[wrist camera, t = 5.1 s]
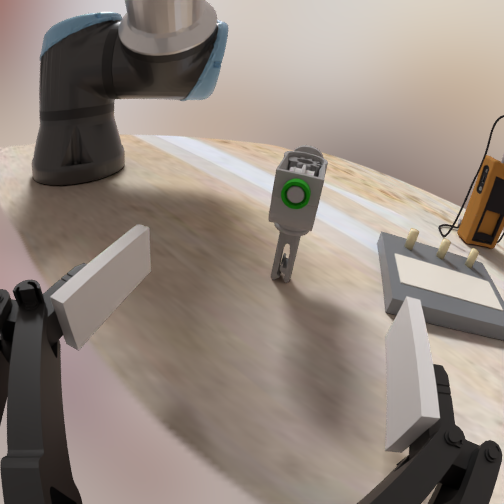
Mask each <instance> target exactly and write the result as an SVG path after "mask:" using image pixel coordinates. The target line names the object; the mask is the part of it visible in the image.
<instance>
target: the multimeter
mask: <svg viewBox="0 0 504 504" xmlns="http://www.w3.org/2000/svg"><path fill="white" fill-rule="evenodd" d="M503 117H504V115H503V116H500V117H499V118H498V119H497V120H496V121H495V123H494V125H493V128H492V130H491V133H490V137H489V141H488V145H487V148H486V151H485V155H484V157H483V160H482V163H481V165H480V167H479V170H478V172H477V174H476V176H475V178H474V180H473V182H472V184H471V186H470V189H469V191H468V194H467V196H466V198H465V200H464V203H463V205H462V207H461V209H460V211H459V214H458V216H457V218H456V220H455V221H454V223H453V225H448V224H443V225H440V226H439V231H440V233H441V235H442V236H443V237H446V236H447V235H448V234H449V233H450V231H451V230H452V228H459V230H458V235H459V236H460V237H461V238H462V239H463V240H464V241H465V242H466V243H467V244H475V245H480V246H485V247H488V248H490V249H492V248H494V247H495V245H496V243H499V242H500V240H501V239H502V237H503V235H504V233H503V234H502V236H501V238H500V239H499V236H500V234H501V232H502V230H503V227H504V155H503V158H502V161H501V162H500V161H498V160H496V159H494V158H492V157H491V156H487V155H486V154H487V150H488V147H489V144H490V140H491V136H492V132H493V129H494V127H495V125H496V123H497V122H498V121H499V119H501V118H503ZM478 173H479V175H478ZM477 175H478V178H477V181H476V184H475V186H474V189H473V192H472V195H471V198H470V201H469V204H468V206H467V209H466V212H465V214H464V217H463V220H461V218H460V219H459V222H458V227H455V226H454V225H455V223H456V221H457V219H458V217H459V215H460V213H461V211H462V209H463V207H464V204H465V202H466V200H467V197H468V195H469V193H470V190H471V188H472V186H473V183H474V181H475V179H476V177H477ZM461 221H462V222H461ZM460 224H461V225H460ZM441 226H450V227H451V228H450V230H449V231H448V233H447V234H446V235H443V234H442V232H441V229H440V227H441ZM459 226H460V227H459ZM498 239H499V241H498Z"/></svg>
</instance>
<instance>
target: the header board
mask: <svg viewBox="0 0 504 504" xmlns="http://www.w3.org/2000/svg"><path fill="white" fill-rule="evenodd" d="M418 234H419V231H418V230H416V229H414V228H411V229H410V232H409V235H408V237H407V239H405V238H402V237H398V236H395V235H391V234H388V233H385V232H381V234H380V237H379V240H378V242H377V245H378V252H379V259H380V266H381V274H382V282H383V291H384V301H385V311H386V313H390V314H394V315H397V314H398V312H399V310H400V308H401V306H402V304H403V302H404V300H405V298H406V296H408V297H411V298H415V299H419V300H420V301H421V306H422V310H423V314H424V319H425V322H426V323H431V324H435V325H439V326H443V327H447V328H452V329H456V330H460V331H464V332H469V333H473V334H478V335H482V336H486V337H491V338H495V339H500V340H504V301H503V300H502V298H501V296H500V294H499V292H498V290H497V288H496V286H495V285H494V283H493V281H492V279H491V277H490V276H489V274H488V272H487V270H486V269H485V267H484V265H483V264H482V263H480V262H477V261H475V260H476V258H477V256H478V254H479V251H478V250H476V249H474V248H472V249H471V252H470V254H469V256H468V258H465V257H462V256H459V255H456V254H453V253H450V252H447V251H448V248H449V246H450V244H451V242H450V241H449V240H448V239H445V238H443V240H442V243H441V245H440V247H439V249H438V248H434V247H431V246H428V245H425V244H421V243H418V242H416V239H417V237H418Z"/></svg>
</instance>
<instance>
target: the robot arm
mask: <svg viewBox="0 0 504 504" xmlns="http://www.w3.org/2000/svg"><path fill="white" fill-rule="evenodd" d="M125 3H126V8H127V13H126V14H125V16H124V17H123V18H122V17H121V15H120V14H118V13H114V12H101V13H95V14H93V13H90V14H84V15H80V16H76V17H73V18H70V19H66V20H64V21H62V22H59V23H57V24H56V25H54V26H52V27H51V28H50V29H49V30H48V32H47V33H46V34H45V36H44V40H43V46H42V52H41V55H40V61H41V63H40V64H41V65H40V128H39V132H38V136H37V141H36V146H35V151H34V158H33V160H32V172H33V178H34V180H35V181H37V182H39V183H42V184H48V185H68V184H77V183H83V182H88V181H93V180H97V179H100V178H103V177H106V176H109V175H111V174H114V173H116V172H117V171H119V170H120V169H122V168H123V166H124V164H125V157H124V148H123V146H122V145H121V140H120V136H119V133H118V129H117V126H116V122H115V119H114V100H115V99H169V100H180V101H186V100H203V99H206V98H208V97H209V96H210V95H211V94H212V93H213V91H214V88H215V86H216V82H217V80H218V76H219V72H220V67H221V63H222V59H223V56H224V52H225V47H226V42H227V36H228V25H227V24H226V23H225V22H221V21H220V20H217V15H216V12H215V10H214V8H213V7H212V6H211V5H210V4H209V3H208V2H206V1H205V0H125ZM150 272H151V255H150V228H149V227H146V226H143V225H139V224H137V225H136V226H134V227H133V228H132V229H130V230H129V231H128V232H127V233H125V234H124V235H123V236H121V237H120V238H119V239H118V240H116V241H115V242H114V243H113V244H111V245H110V246H109V247H108V248H106V249H105V250H104V251H103V252H102V253H100V254H99V255H98V256H97V257H95V258H94V259H93V260H92V261H91V262H89V263H88V264H85V263H83V264H81V265H78V266H76V267H74V268H73V269H72V270H70V271H69V272H68V273H67V275H65V276H63V277H62V278H61V280H59V281H58V282H56V283H55V284H54V285H53V286H52V287H51V288H49V289H48V290H47V291H46V292H45V293H44V294H42V291H41V288H40V284H39V283H38V282H37V281H35V280H25V281H22V282H21V283H19V284H18V285H17V286H15V288H14V290H13V293H14V296H15V298H16V300H12V299H11V298H10V295H9V293H8V292H7V291H6V290H3V289H0V424H1V420H2V415H3V411H4V408H5V404H6V400H7V397H8V400H7V445H8V453H7V456H5V457H3V458H2V460H1V479H2V488H3V497H4V504H82V500H81V496H80V493H79V491H78V489H77V487H76V485H75V483H74V480H73V477H72V472H71V467H70V461H69V454H68V448H67V440H66V433H65V424H64V414H63V404H62V388H61V360H60V341H59V339H60V338H61V337H62V336H64V338H65V341H66V343H67V344H68V345H70V346H71V347H73V348H75V349H77V350H80V349H81V348H82V346H83V345H84V344H85V343H86V342H87V341H88V340H89V338H90V337H91V336H92V335H93V334H94V333H95V332H96V330H97V329H98V328H99V327H100V326H101V325H102V324H103V323H104V321H105V320H106V319H107V318H108V317H109V316H110V315H111V314H112V313H113V311H114V310H115V309H116V308H117V307H118V306H119V305H120V304H121V303H122V302H123V301H124V299H125V298H126V297H127V296H128V295H129V294H130V293H131V292H132V291H133V290H134V289H135V288H136V287H137V285H138V284H139V283H140V282H141V281H142V280H143V279H144V278H145V277H146V276H147V275H148V274H149V273H150ZM385 345H386V374H387V415H386V443H385V451H392V452H401V453H402V452H403V451H404V450H405V449H407V448H408V447H409V455H408V456H407V457H406V458H404V459H403V460H402V461H400V462H399V463H398V464H396V465H397V467H396V468H395V469H394V470H393V471H392V472H391V473H390V474H389V475H388V476H387V477H386V478H385V479H384V480H383V481H382V482H381V483H379V484H378V485H377V486H376V487H375V488H374V489H373V490H372V491H371V492H370V493H369V494H367V495H366V496H365V497H364V498H363V499H362V500H361V501H359V502H358V503H357V504H421V503H422V502H423V501H424V500H425V498H426V497H427V496H428V495H429V494H430V492H431V491H432V490H433V489H434V487H435V486H436V485H437V486H436V488H435V490H434V492H433V494H432V497H431V499H430V500H429V502H428V504H489V502H490V499H491V496H492V493H493V490H494V486H495V483H496V480H497V476H498V473H499V469H500V465H501V461H502V452H501V449H500V447H499V445H498V444H497V443H495V442H494V441H491V440H489V441H485V442H484V443H483V444H481V445H480V446H479V445H477V444H474V443H472V442H470V441H467V440H466V439H465V436H464V433H463V431H462V430H461V429H460V428H459V427H458V426H456V425H455V420H454V412H453V405H452V398H451V396H450V394H451V392H450V387H449V386H450V385H449V379H448V375H447V373H446V371H445V370H444V368H443V366H441V365H436V364H433V361H432V355H431V349H430V344H429V338H428V333H427V328H426V324H425V319H424V314H423V310H422V306H421V301H420V300H419V299H415V298H411V297H408V296H406V298H405V300H404V302H403V304H402V306H401V308H400V310H399V312H398V314H397V316H396V318H395V320H394V321H393V323H392V325H391V327H390V329H389V331H388V332H387V334H386V336H385Z"/></svg>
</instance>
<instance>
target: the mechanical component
mask: <svg viewBox="0 0 504 504" xmlns="http://www.w3.org/2000/svg"><path fill="white" fill-rule="evenodd" d="M327 164H328V162H327V160H325V159H324V158H323V155H322V153H321V152H320V151H319V150H318V149H317V148H315V147H312V146H307V145H303V146H299V147H297V148H296V149H295V150H294V151H287V152H285V153H284V158H283V160H282V161H281V163H280V165H279V166H278V168H277V169H276V175H275V180H274V186H273V192H272V199H271V205H270V211H269V221H270V222H274V224H275V227H276V228H277V229H278V230H279V231H280V234H279V239H278V244H277V249H276V254H275V259H274V264H273V269H272V273H271V278H272V279H277V278H279V277H280V274H281V272H282V273H283V274H285V276H284V281H285V282H286V283H287V282H289V281H290V278H291V274H292V270H293V266H294V261H295V257H296V253H297V249H298V245H299V241H300V237H301V236H302V235H305V234H307V233H308V232H309V231H312V228H313V224H314V220H315V216H316V212H317V208H318V204H319V200H320V196H321V192H322V187H323V183H324V177H325V173H326V168H327ZM286 243H288V244H289V245H290V255H289V259H288V258H286V254H285V253H284V255H283V258H282V253H283V248H284V246H285V244H286ZM281 258H282V262H281ZM280 263H281V265H280Z"/></svg>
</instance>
